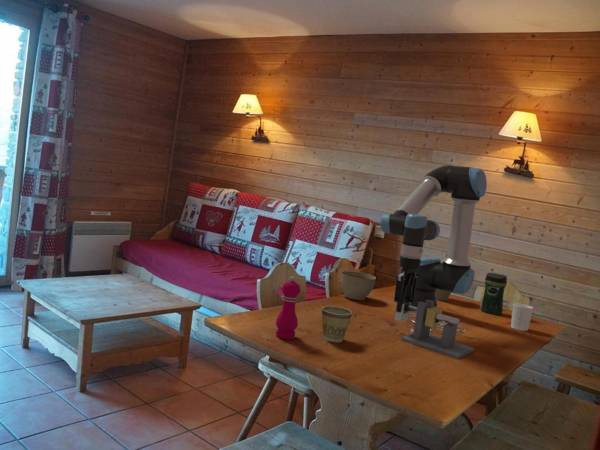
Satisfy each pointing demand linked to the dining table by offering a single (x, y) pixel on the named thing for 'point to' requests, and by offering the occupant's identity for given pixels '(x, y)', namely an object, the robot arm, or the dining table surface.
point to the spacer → (432, 316)
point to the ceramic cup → (335, 322)
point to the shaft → (438, 316)
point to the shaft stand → (433, 342)
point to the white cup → (521, 316)
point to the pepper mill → (288, 310)
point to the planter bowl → (357, 284)
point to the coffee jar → (493, 293)
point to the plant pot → (442, 295)
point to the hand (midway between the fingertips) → (401, 319)
